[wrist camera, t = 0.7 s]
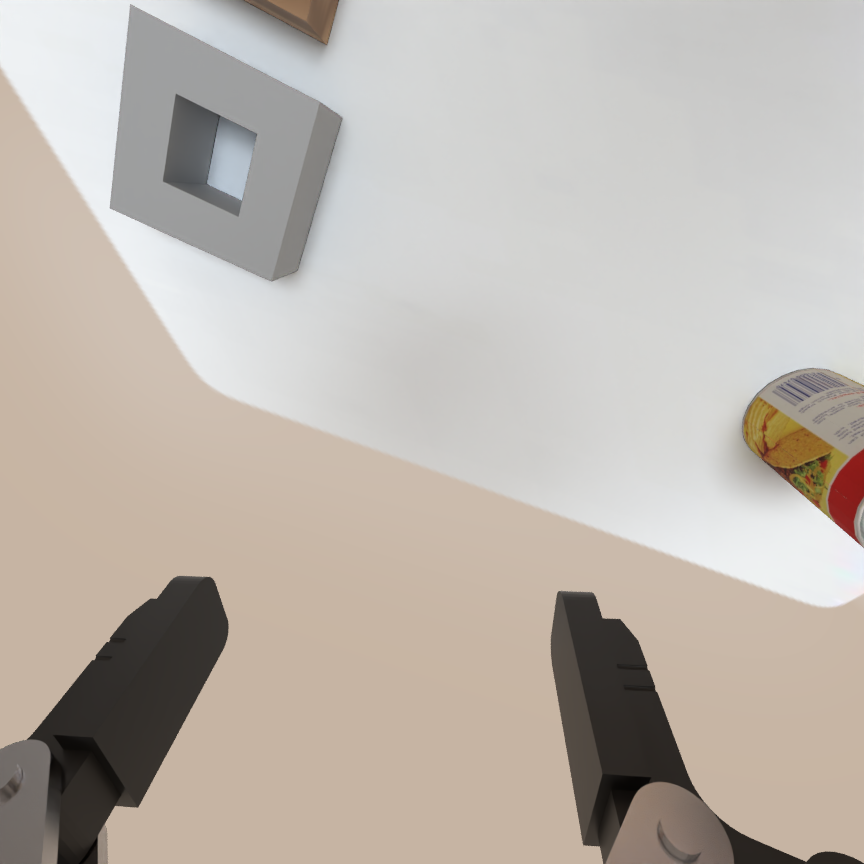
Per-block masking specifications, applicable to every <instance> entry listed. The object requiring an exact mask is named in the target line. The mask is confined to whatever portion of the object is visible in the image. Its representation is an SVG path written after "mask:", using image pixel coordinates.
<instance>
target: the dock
mask: <svg viewBox="0 0 864 864" xmlns="http://www.w3.org/2000/svg"><path fill="white" fill-rule="evenodd" d="M219 115H220V116H222V117H224V118H226V119H228V120H230V121H232V122H234V123H236V124H238V125H240V126H242V127H244V128H246V129H248V130H250V131H252V132H254V133H256V134H257V136H256V141H255V145H254V150H253V154H252V159H251V163H250V168H249V172H248V177H247V181H246V186H245V190H244V195H243V199H242V201H241V200H239V199H237V198H235V197H232V196H230V195H228V194H226V193H224V192H222V191H220V190H218V189H216V188H213V187H211V186H209V185H207V184H206V183H207V178H208V172H209V167H210V162H211V156H212V151H213V146H214V140H215V135H216V130H217V124H218V119H219ZM341 120H342V117H341V116H340V115H338V114H337V113H335V112H334V111H332V110H331V109H329V108H328V107H326V106H325V105H323V104H322V103H321V102H319V101H317V100H315V99H313V98H311V97H309V96H307V95H305V94H303V93H301V92H299V91H297V90H295V89H294V88H292V87H290V86H288V85H286V84H284V83H282V82H280V81H278V80H276V79H274V78H272V77H270V76H268V75H266V74H264V73H263V72H261V71H259V70H257V69H255V68H253V67H251V66H249V65H247V64H245V63H243V62H241V61H239V60H237V59H235V58H233V57H232V56H230V55H228V54H226V53H224V52H222V51H220V50H218V49H216V48H214V47H212V46H210V45H208V44H206V43H204V42H202V41H200V40H199V39H197V38H195V37H193V36H191V35H189V34H187V33H185V32H183V31H181V30H179V29H177V28H175V27H173V26H171V25H169V24H168V23H166V22H164V21H162V20H160V19H158V18H156V17H154V16H152V15H150V14H148V13H146V12H144V11H142V10H140V9H138V8H137V7H135V6H133V5H131V4H130V13H129V23H128V33H127V43H126V53H125V62H124V72H123V82H122V92H121V102H120V112H119V122H118V132H117V142H116V151H115V161H114V171H113V181H112V191H111V201H110V209H113V210H115V211H117V212H119V213H121V214H124V215H126V216H128V217H130V218H132V219H135V220H137V221H139V222H141V223H143V224H146V225H148V226H150V227H152V228H154V229H157V230H159V231H161V232H163V233H166V234H168V235H170V236H172V237H174V238H177V239H179V240H181V241H183V242H185V243H188V244H190V245H192V246H194V247H196V248H199V249H201V250H203V251H205V252H207V253H210V254H212V255H214V256H216V257H218V258H221V259H223V260H225V261H227V262H229V263H232V264H234V265H236V266H238V267H240V268H243V269H245V270H247V271H249V272H252V273H254V274H256V275H258V276H260V277H263V278H265V279H267V280H269V281H274V280H276V279H278V278H281V277H283V276H286V275H288V274H290V273H293V272H295V271H297V270H298V267H299V263H300V260H301V257H302V253H303V250H304V246H305V243H306V239H307V236H308V233H309V229H310V226H311V222H312V219H313V216H314V212H315V209H316V205H317V202H318V199H319V195H320V192H321V188H322V185H323V182H324V178H325V175H326V171H327V168H328V164H329V161H330V158H331V154H332V151H333V147H334V144H335V141H336V137H337V134H338V130H339V127H340V124H341Z"/></svg>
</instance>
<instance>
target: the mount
mask: <svg viewBox="0 0 864 864" xmlns="http://www.w3.org/2000/svg"><path fill="white" fill-rule="evenodd" d="M244 1H246V2H248V3H249V4H251V5H253V6H255V7H257V8H259V9H261V10H263V11H264V12H266V13H268V14H270V15H272V16H274V17H276V18H277V19H279V20H281V21H283V22H285V23H287V24H289V25H291V26H292V27H294V28H296V29H298V30H300V31H302V32H304V33H306V34H307V35H309V36H311V37H313V38H315V39H317V40H319V41H321V42H322V43H324V44H326V45H327V43H328V39H329V35H330V32H331V28H332V24H333V20H334V17H335V13H336V9H337V5H338V1H339V0H244Z"/></svg>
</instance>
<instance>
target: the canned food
mask: <svg viewBox="0 0 864 864" xmlns="http://www.w3.org/2000/svg"><path fill="white" fill-rule="evenodd" d="M742 431H743V436H744V440H745V442H746V443H747V445H748V446H749V448H750V449H751V450H752V451H753V452H754V453H755V454H757V455H758V456H759V457H760V458H761V459H762V460H763V461H765V462H766V463H767V464H768V465H769V466H770V467H771V468H773V469H774V470H775V471H776V472H777V473H778V474H779V475H781V476H782V477H783V478H784V479H785V480H786V481H787V482H789V483H790V484H791V485H792V486H793V487H794V488H796V489H797V490H798V491H799V492H800V493H801V494H802V495H804V496H805V497H806V498H807V499H808V500H809V501H810V502H812V503H813V504H814V505H815V506H816V507H817V508H818V509H820V510H821V511H822V512H823V513H824V514H825V515H827V516H828V517H829V518H830V519H831V520H832V521H833V522H835V523H836V524H837V525H838V526H839V527H840V528H841V529H843V530H844V531H845V532H846V533H847V534H848V535H849V536H851V537H852V538H853V539H854V540H855V541H856V542H857V543H859V544H860V545H861V546H862V547H863V548H864V385H861V384H859V383H857V382H855V381H853V380H851V379H848V378H846V377H844V376H842V375H840V374H837V373H835V372H832V371H830V370H827V369H816V368H811V369H804V370H797V371H795V372H792V373H789V374H786V375H784V376H781V377H780V378H778V379H776V380H775V381H773V382H771V383H770V384H768V385H767V386H766V387H765V388H764V389H763V390H761V391H760V392H759V393H758V394H757V395H756V397H755V398H754V399H753V401H752V402H751V403H750V405H749V406H748V409H747V411H746V413H745V416H744V418H743V427H742Z"/></svg>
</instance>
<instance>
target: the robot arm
mask: <svg viewBox="0 0 864 864" xmlns="http://www.w3.org/2000/svg"><path fill="white" fill-rule="evenodd" d="M227 636H228V620H227V617H226V614H225V611H224V608H223V605H222V602H221V599H220V596H219V593H218V590H217V587H216V584H215V582H214V580H213V579H212V578H211V577H192V576H177V577H175V578H174V579H173V580H171V581H170V582H169V584H168V585H167V587H166V588H165V589H164V590H163V592H162V593H161V594H160V595H159V597H158V598H157V599H149V600H148V601H147V602H145V603H144V604H143V605H142V606H140V607H139V608H138V609H136V610H135V611H134V612H133V613H131V614H130V615H129V616H128V617H127V618H126V619H125V620H124V621H123V623H122V624H121V625H120V626H119V628H118V629H117V630H116V631H115V632H114V634H113V635H112V636H111V637H110V641H109V642H107V643H106V644H105V645H104V646H103V648H102V649H101V650H100V651H99V652H98V654H97V655H96V659H95V660H92V661H91V662H90V664H89V665H88V666H87V667H86V669H85V670H84V671H83V672H82V674H81V675H80V676H79V677H78V678H77V680H76V681H75V682H74V684H73V685H72V686H71V687H70V688H69V690H68V691H67V692H66V693H65V695H64V696H63V697H62V699H61V700H60V701H59V702H58V704H57V705H56V706H55V707H54V708H53V710H52V711H51V712H50V713H49V715H48V716H47V717H46V719H45V720H44V721H43V722H42V723H41V724H40V726H39V727H38V728H37V729H36V730H35V732H34V733H33V734H32V735H31V736H30V737H29V738H28V739H27V740H23V741H19V742H16V743H13V744H11V745H8V746H6V747H4V748H2V749H0V864H108V856H107V855H108V854H107V828H106V826H105V822H106V820H107V819H108V817H109V815H110V813H111V812H112V810H113V808H114V807H115V806H124V807H139V805H140V803H141V801H142V799H143V797H144V795H145V794H146V792H147V790H148V788H149V786H150V784H151V782H152V781H153V779H154V777H155V775H156V773H157V771H158V769H159V768H160V766H161V764H162V762H163V760H164V758H165V756H166V755H167V753H168V751H169V749H170V747H171V745H172V743H173V742H174V740H175V738H176V736H177V734H178V732H179V730H180V729H181V727H182V725H183V723H184V721H185V719H186V717H187V715H188V714H189V712H190V709H191V708H192V706H193V704H194V703H195V701H196V699H197V697H198V695H199V693H200V691H201V689H202V688H203V686H204V684H205V682H206V680H207V678H208V677H209V675H210V673H211V671H212V669H213V667H214V665H215V664H216V662H217V660H218V658H219V656H220V654H221V652H222V651H223V649H224V646H225V643H226V640H227ZM551 657H552V666H553V672H554V678H555V683H556V690H557V696H558V701H559V707H560V712H561V719H562V724H563V730H564V736H565V742H566V748H567V754H568V759H569V765H570V771H571V777H572V783H573V788H574V794H575V800H576V806H577V812H578V817H579V823H580V829H581V835H582V840H583V845H588V846H600V848H601V853H602V859H603V864H864V863H862V862H861V861H859V860H857V859H855V858H852V857H850V856H847V855H845V854H841V853H837V852H821V853H817V854H815V855H813V856H812V857H811V858H810V859H809V860H808V861H807V862H805V861H803V860H800V859H798V858H796V857H793V856H791V855H789V854H786V853H784V852H782V851H779V850H777V849H774V848H772V847H770V846H768V845H765V844H763V843H761V842H758V841H756V840H754V839H751V838H749V837H747V836H745V835H743V834H741V833H739V832H738V831H736V830H735V829H733V828H732V827H730V826H729V825H728V824H726V823H725V822H724V821H722V820H721V819H720V818H719V817H718V816H717V815H716V814H715V813H714V812H713V811H712V810H711V809H710V808H709V807H708V806H707V805H706V804H705V803H704V801H703V800H702V799H701V797H700V796H699V794H698V793H697V791H696V790H695V788H694V786H693V785H692V783H691V780H690V778H689V776H688V774H687V771H686V768H685V765H684V763H683V760H682V757H681V755H680V752H679V749H678V747H677V744H676V741H675V738H674V736H673V734H672V730H671V728H670V725H669V722H668V720H667V717H666V714H665V712H664V709H663V706H662V704H661V701H660V698H659V696H658V693H657V692H656V691H655V685H654V682H653V679H652V677H651V674H650V671H649V670H648V669H647V664H646V661H645V658H644V655H643V653H642V650H641V647H640V645H639V642H638V640H637V639H636V638H635V637H634V635H633V634H632V633H631V632H630V630H629V629H628V628H627V627H626V626H625V624H624V623H623V622H622V621H621V620H620V619H603V618H602V616H601V612H600V609H599V606H598V603H597V599H596V597H595V595H594V593H592V592H568V591H567V592H566V591H559V592H558V593H557V598H556V605H555V613H554V620H553V627H552V635H551Z"/></svg>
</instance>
